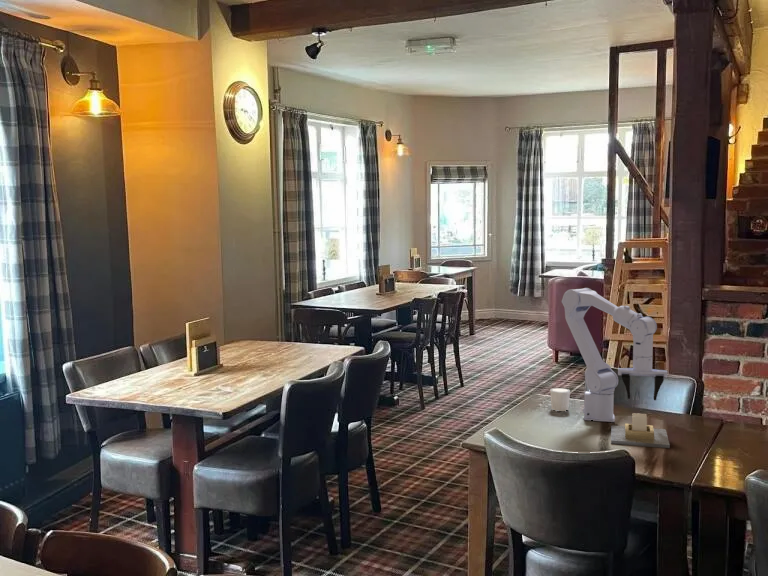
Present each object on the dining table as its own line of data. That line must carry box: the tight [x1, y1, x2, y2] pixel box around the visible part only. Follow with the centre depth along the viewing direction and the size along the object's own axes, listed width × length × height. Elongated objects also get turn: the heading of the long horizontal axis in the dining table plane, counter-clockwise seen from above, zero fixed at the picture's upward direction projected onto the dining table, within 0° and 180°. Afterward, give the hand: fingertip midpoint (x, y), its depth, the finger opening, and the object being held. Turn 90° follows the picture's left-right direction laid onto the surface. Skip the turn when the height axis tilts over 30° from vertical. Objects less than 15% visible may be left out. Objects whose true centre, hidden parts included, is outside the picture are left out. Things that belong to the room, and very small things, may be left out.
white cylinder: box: [549, 387, 571, 412], centre depth 250 cm, size 7×7×7 cm
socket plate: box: [610, 423, 671, 449], centre depth 217 cm, size 16×16×3 cm
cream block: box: [631, 412, 648, 432], centre depth 216 cm, size 4×4×6 cm
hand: (641, 398), depth 226 cm, fingers open, 7 cm apart
